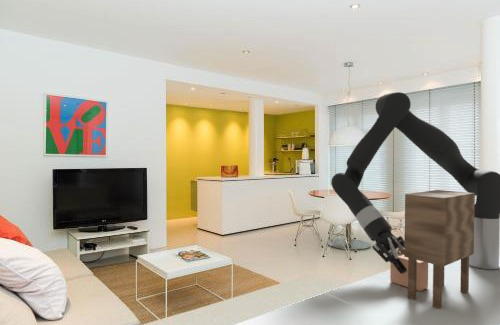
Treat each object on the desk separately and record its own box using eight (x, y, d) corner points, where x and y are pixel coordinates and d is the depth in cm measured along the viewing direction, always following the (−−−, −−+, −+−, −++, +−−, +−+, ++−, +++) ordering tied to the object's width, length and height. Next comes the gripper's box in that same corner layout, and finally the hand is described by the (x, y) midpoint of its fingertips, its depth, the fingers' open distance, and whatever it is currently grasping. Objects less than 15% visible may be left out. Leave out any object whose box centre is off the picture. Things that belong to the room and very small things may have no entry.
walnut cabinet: (431, 280, 103) (433, 189, 102) (472, 293, 93) (474, 193, 93) (399, 295, 92) (400, 193, 91) (442, 310, 83) (444, 198, 82)
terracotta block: (398, 278, 104) (398, 252, 104) (427, 287, 97) (428, 260, 97) (390, 281, 101) (390, 255, 101) (420, 291, 94) (420, 262, 94)
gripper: (367, 218, 102) (404, 268, 93) (393, 213, 110) (429, 259, 101) (352, 232, 106) (386, 281, 97) (378, 226, 115) (412, 271, 105)
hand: (408, 270), depth 99 cm, fingers closed on terracotta block, 4 cm apart
